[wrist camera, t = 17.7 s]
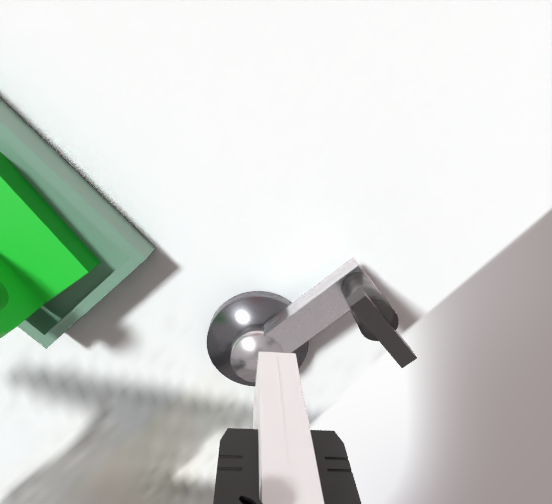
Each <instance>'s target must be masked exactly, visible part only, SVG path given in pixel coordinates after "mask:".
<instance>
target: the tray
mask: <svg viewBox="0 0 552 504" xmlns="http://www.w3.org/2000/svg"><path fill="white" fill-rule="evenodd" d="M0 152H1V153H2V154H3V155H4V156H5V157H6V158H7V159H8V160H9V161H10V162H11V164H12V165H13V166H14V167H15V168H16V169H17V170H18V171H19V172H20V173H21V175H22V176H23V177H24V178H25V179H26V180H27V181H28V182H29V183H30V185H31V186H32V187H33V188H34V189H35V190H36V191H37V192H38V193H39V195H40V196H41V197H42V198H43V199H44V200H45V201H46V202H47V203H48V205H49V206H50V207H51V208H52V209H53V210H54V211H55V212H56V213H57V215H58V216H59V217H60V218H61V219H62V220H63V221H64V222H65V223H66V225H67V226H68V227H69V228H70V229H71V230H72V231H73V232H74V233H75V235H76V236H77V237H78V238H79V239H80V240H81V241H82V242H83V243H84V245H85V246H86V247H87V248H88V249H89V250H90V251H91V252H92V253H93V255H94V256H95V257H96V258H97V259H98V260H99V261H100V263H99V264H98V265H97V266H96V267H94V268H93V269H92V270H91V271H90V272H89V273H87V274H86V275H84V276H83V277H81V278H80V279H79V280H77V281H76V282H74V283H73V284H72V285H70V286H69V287H67V288H66V289H65V290H63V291H62V292H60V293H59V294H57V295H56V296H55V297H53V298H52V299H50V300H49V301H48V302H46V303H45V304H44V305H42V306H41V307H40V308H39V309H38V310H36V311H35V312H34V313H33V314H32V315H30V316H29V317H28V318H27V319H25V320H24V321H23V322H22V323H21V324H19V325H18V327H19V328H21V329H22V330H23V331H24V332H26V333H27V334H28V335H29V336H31V337H32V338H33V339H35V340H36V341H37V342H38V343H40V344H41V345H42V346H43V347H45V348H46V349H47V348H48V347H49V346H50V345H51V344H52V343H53V342H54V341H55V340H57V339H58V338H59V337H60V336H61V335H62V334H63V333H64V332H65V331H67V330H68V329H69V328H70V327H71V326H72V325H73V324H74V323H75V322H77V321H78V320H79V319H80V318H81V317H82V316H83V315H84V314H85V313H87V312H88V311H89V310H90V309H91V308H92V307H93V306H94V305H95V304H97V303H98V302H99V301H100V300H101V299H102V298H103V297H104V296H105V295H107V294H108V293H109V292H110V291H111V290H112V289H113V288H114V287H116V286H117V285H118V284H119V283H120V282H121V281H122V280H123V279H124V278H126V277H127V276H128V275H129V274H130V273H131V272H132V271H133V270H134V269H136V268H137V267H138V266H139V265H140V264H141V263H142V262H143V261H144V260H146V259H147V257H148V256H149V255H150V254H151V253H152V252H153V250H154V249H155V247H154V246H153V245H152V244H151V243H150V242H149V241H148V240H147V239H146V238H145V237H144V236H143V235H142V234H141V233H140V232H139V231H138V230H137V229H135V228H134V227H133V226H132V225H131V224H130V223H129V222H128V221H127V220H126V219H125V218H124V217H123V216H122V215H121V214H120V213H119V212H118V211H117V210H116V209H115V208H114V207H113V206H112V205H111V204H110V203H109V202H108V201H107V200H105V199H104V198H103V197H102V196H101V195H100V194H99V193H98V192H97V191H96V190H95V189H94V188H93V187H92V186H91V185H90V184H89V183H88V182H87V181H86V180H85V179H84V178H83V177H82V176H81V175H80V174H79V173H78V172H77V171H75V170H74V169H73V168H72V167H71V166H70V165H69V164H68V163H67V162H66V161H65V160H64V159H63V158H62V157H61V156H60V155H59V154H58V153H57V152H56V151H55V150H54V149H53V148H52V147H51V146H50V145H49V144H48V143H47V142H45V141H44V140H43V139H42V138H41V137H40V136H39V135H38V134H37V133H36V132H35V131H34V130H33V129H32V128H31V127H30V126H29V125H28V124H27V123H26V122H25V121H24V120H23V119H22V118H21V117H20V116H19V115H18V114H17V113H15V112H14V111H13V110H12V109H11V108H10V107H9V106H8V105H7V104H6V103H5V102H4V101H3V100H2V99H1V98H0Z"/></svg>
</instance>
